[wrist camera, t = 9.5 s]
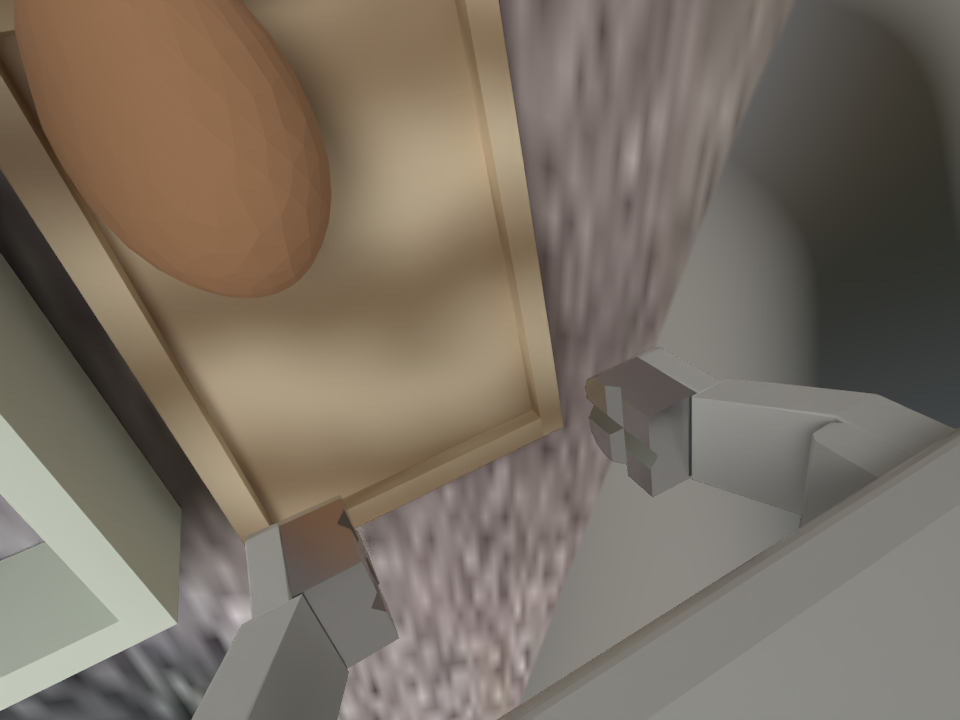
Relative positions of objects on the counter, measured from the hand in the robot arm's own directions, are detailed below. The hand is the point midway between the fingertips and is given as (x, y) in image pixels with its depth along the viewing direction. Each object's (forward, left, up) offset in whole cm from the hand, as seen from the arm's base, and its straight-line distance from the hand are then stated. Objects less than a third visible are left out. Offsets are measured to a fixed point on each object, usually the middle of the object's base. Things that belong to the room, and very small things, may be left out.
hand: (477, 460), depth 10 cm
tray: (0, 0, -11) cm, 11 cm away
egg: (-2, -2, -7) cm, 8 cm away
